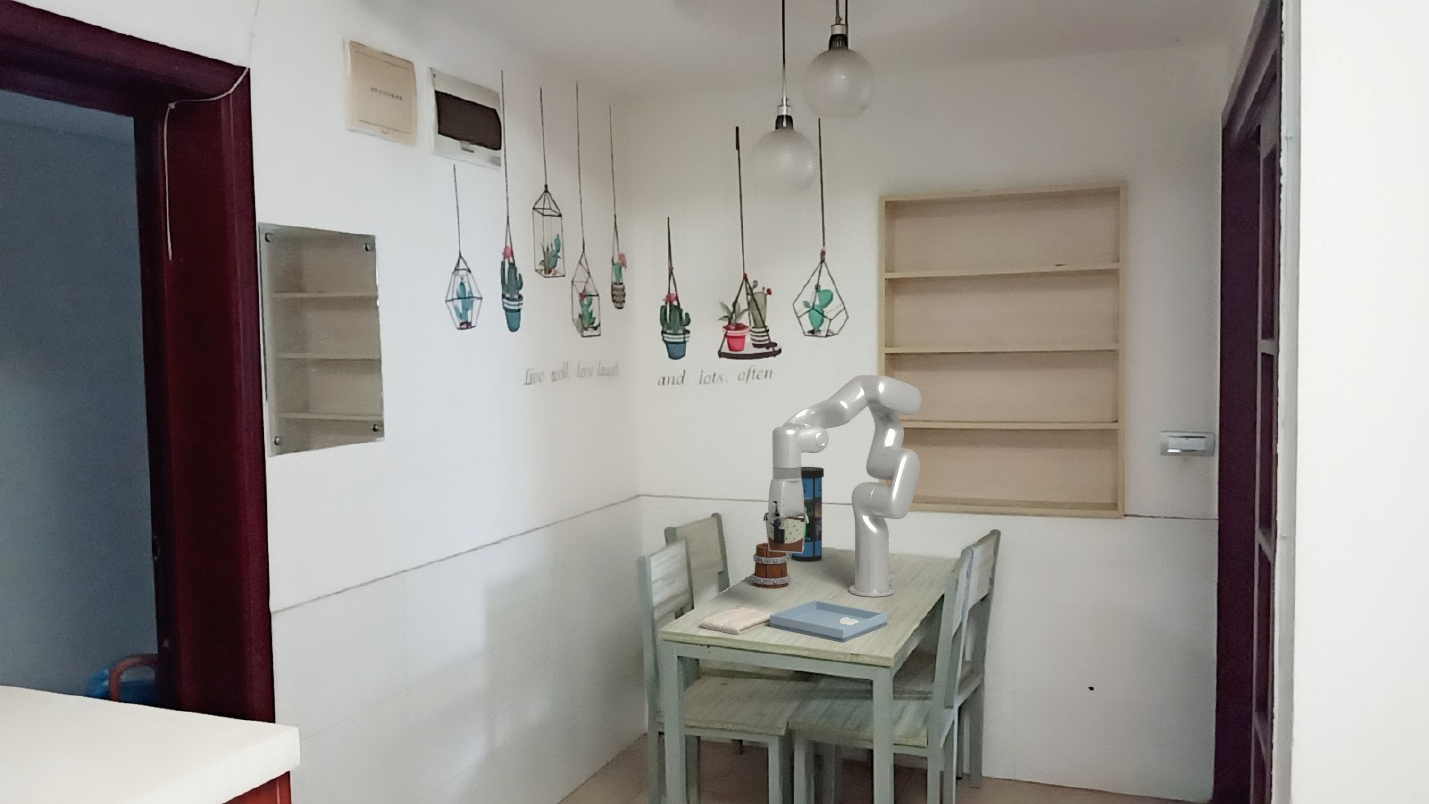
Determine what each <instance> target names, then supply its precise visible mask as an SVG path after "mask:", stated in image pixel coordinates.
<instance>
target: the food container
mask: <svg viewBox="0 0 1429 804" xmlns="http://www.w3.org/2000/svg"><path fill="white" fill-rule="evenodd" d="M767 515H768V511H767V512H765V513H764V515H763V517H762V521H763V522H765V530H766V537H767V539H766V540H767V543H768V548H769V551H775V552H786V553H791V554H792V553H804V543H805V531H806V521H807V523H809V521H808V516H807V514H806V513H804V512H801V514H800V515H797V516H790V517H788V518H785V521H784V525H783V529H785V543H784V544H777V543H774V528H772V524H771V523H770V521H769V520H768V518H767ZM779 516H780V515H779ZM778 522H779V523H780V519H778Z"/></svg>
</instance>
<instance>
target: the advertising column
mask: <svg viewBox="0 0 1429 804" xmlns="http://www.w3.org/2000/svg"><path fill="white" fill-rule="evenodd" d="M824 474H825V469H824V468H823V467H821V466H820V467H819V466H801V479H802V485H803V494H804V506H805V507H806V509H807V510H806V512H805V513H806V514H807V516H808V521H809V523H807V521H806V531H805V543H804V553H791V560H793V561H797V562H807V563H808V562H810V563H812V562H818V561H822V559H823V478H824V476H825V475H824Z"/></svg>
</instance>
